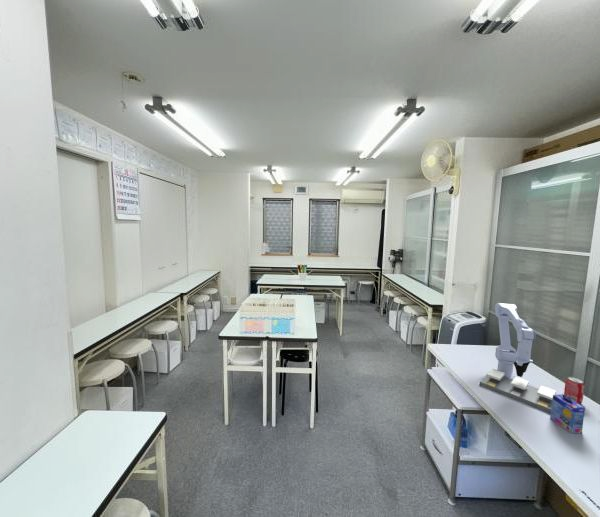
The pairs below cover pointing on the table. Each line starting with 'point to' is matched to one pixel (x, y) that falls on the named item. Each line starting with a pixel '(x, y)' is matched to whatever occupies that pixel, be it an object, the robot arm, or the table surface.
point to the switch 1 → (496, 374)
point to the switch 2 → (520, 383)
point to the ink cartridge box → (567, 413)
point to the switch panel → (517, 392)
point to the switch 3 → (546, 392)
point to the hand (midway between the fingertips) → (521, 373)
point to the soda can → (574, 389)
